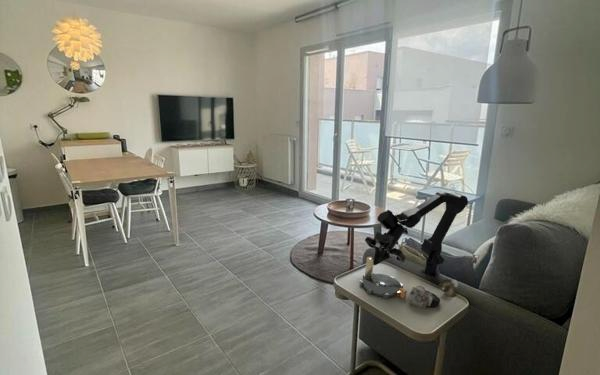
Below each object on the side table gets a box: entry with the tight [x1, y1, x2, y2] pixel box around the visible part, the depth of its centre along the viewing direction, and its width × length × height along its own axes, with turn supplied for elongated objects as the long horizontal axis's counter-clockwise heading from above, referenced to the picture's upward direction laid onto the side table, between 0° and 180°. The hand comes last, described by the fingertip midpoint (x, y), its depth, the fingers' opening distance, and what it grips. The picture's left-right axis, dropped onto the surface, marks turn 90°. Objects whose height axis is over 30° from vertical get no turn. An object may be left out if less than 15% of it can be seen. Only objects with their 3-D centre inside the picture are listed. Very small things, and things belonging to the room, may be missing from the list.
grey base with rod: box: [359, 256, 404, 300], centre depth 135 cm, size 17×17×11 cm
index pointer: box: [399, 288, 408, 299], centre depth 129 cm, size 2×2×4 cm
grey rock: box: [406, 285, 441, 309], centre depth 127 cm, size 7×11×10 cm
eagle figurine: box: [438, 275, 459, 298], centre depth 135 cm, size 8×7×9 cm
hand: (373, 264), depth 139 cm, fingers closed
